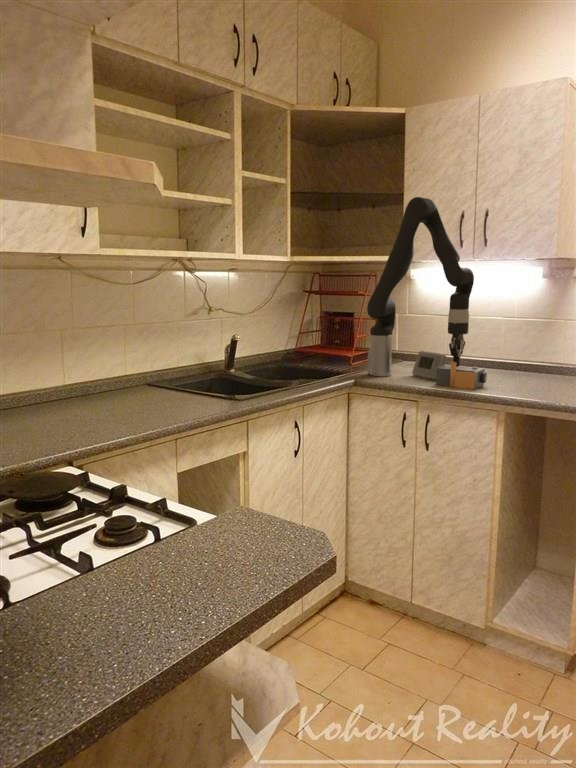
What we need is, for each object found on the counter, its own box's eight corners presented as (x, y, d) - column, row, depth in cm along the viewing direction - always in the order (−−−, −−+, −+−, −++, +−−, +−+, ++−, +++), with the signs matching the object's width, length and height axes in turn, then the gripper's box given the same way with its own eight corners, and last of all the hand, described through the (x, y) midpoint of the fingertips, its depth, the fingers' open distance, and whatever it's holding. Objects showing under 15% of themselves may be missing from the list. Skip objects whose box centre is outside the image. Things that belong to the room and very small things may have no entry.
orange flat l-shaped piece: (449, 387, 230) (450, 362, 229) (450, 386, 232) (451, 361, 230) (476, 389, 225) (477, 364, 223) (477, 388, 227) (478, 363, 225)
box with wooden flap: (435, 384, 235) (436, 366, 234) (443, 381, 243) (444, 363, 241) (481, 389, 226) (482, 370, 225) (487, 385, 233) (488, 367, 232)
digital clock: (410, 375, 258) (411, 350, 256) (429, 374, 261) (430, 350, 259) (429, 381, 243) (430, 355, 241) (449, 380, 245) (450, 354, 243)
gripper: (454, 319, 236) (451, 363, 239) (443, 321, 225) (441, 367, 228) (473, 320, 232) (470, 365, 235) (463, 322, 221) (460, 369, 224)
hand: (456, 366), depth 231 cm, fingers closed
